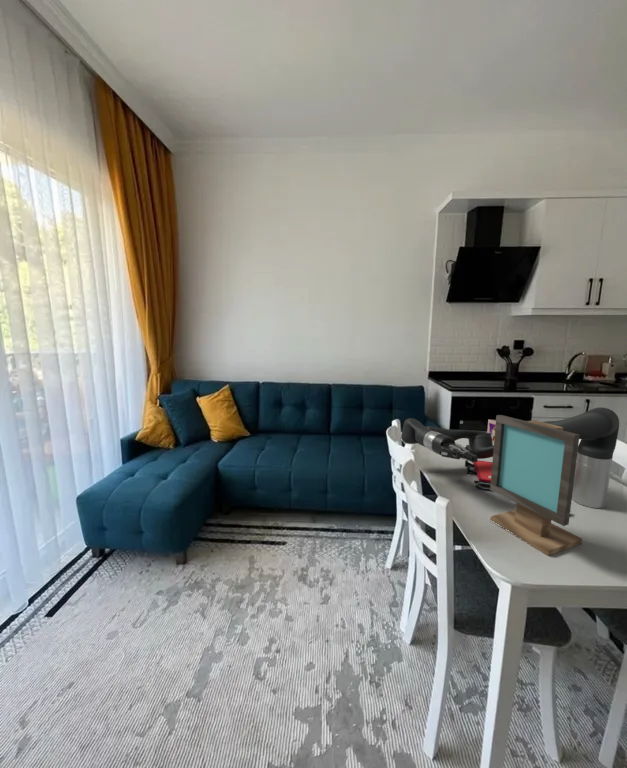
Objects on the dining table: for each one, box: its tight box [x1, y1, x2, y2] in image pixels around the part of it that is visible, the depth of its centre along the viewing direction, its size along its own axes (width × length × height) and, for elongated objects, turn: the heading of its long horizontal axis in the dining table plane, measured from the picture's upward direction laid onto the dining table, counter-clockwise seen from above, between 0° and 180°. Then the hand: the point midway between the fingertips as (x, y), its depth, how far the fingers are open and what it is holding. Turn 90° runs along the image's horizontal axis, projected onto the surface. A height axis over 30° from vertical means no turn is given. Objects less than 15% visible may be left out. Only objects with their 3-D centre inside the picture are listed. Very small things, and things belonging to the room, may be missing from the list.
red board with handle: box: [464, 459, 493, 490], centre depth 140 cm, size 30×3×15 cm
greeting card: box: [486, 419, 496, 445], centre depth 167 cm, size 11×7×15 cm, turn 25°
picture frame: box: [489, 414, 580, 527], centre depth 96 cm, size 2×22×24 cm, turn 22°
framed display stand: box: [489, 419, 583, 557], centre depth 98 cm, size 14×18×33 cm
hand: (475, 459), depth 113 cm, fingers closed
